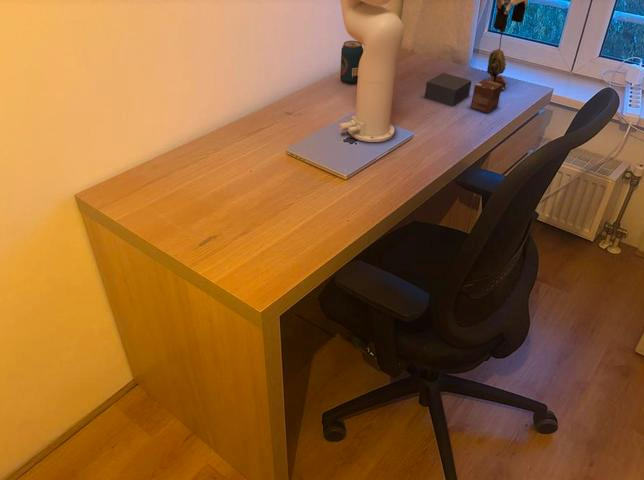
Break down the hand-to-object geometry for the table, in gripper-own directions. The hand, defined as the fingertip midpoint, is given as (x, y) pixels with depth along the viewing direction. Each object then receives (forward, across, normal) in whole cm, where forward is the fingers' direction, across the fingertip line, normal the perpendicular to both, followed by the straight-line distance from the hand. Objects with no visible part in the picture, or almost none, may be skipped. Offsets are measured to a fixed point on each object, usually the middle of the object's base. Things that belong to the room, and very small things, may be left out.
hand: (507, 25), depth 147 cm
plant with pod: (+23, -15, -7) cm, 28 cm away
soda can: (+23, +15, -42) cm, 50 cm away
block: (+23, +3, -13) cm, 27 cm away
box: (+23, +2, 0) cm, 24 cm away
